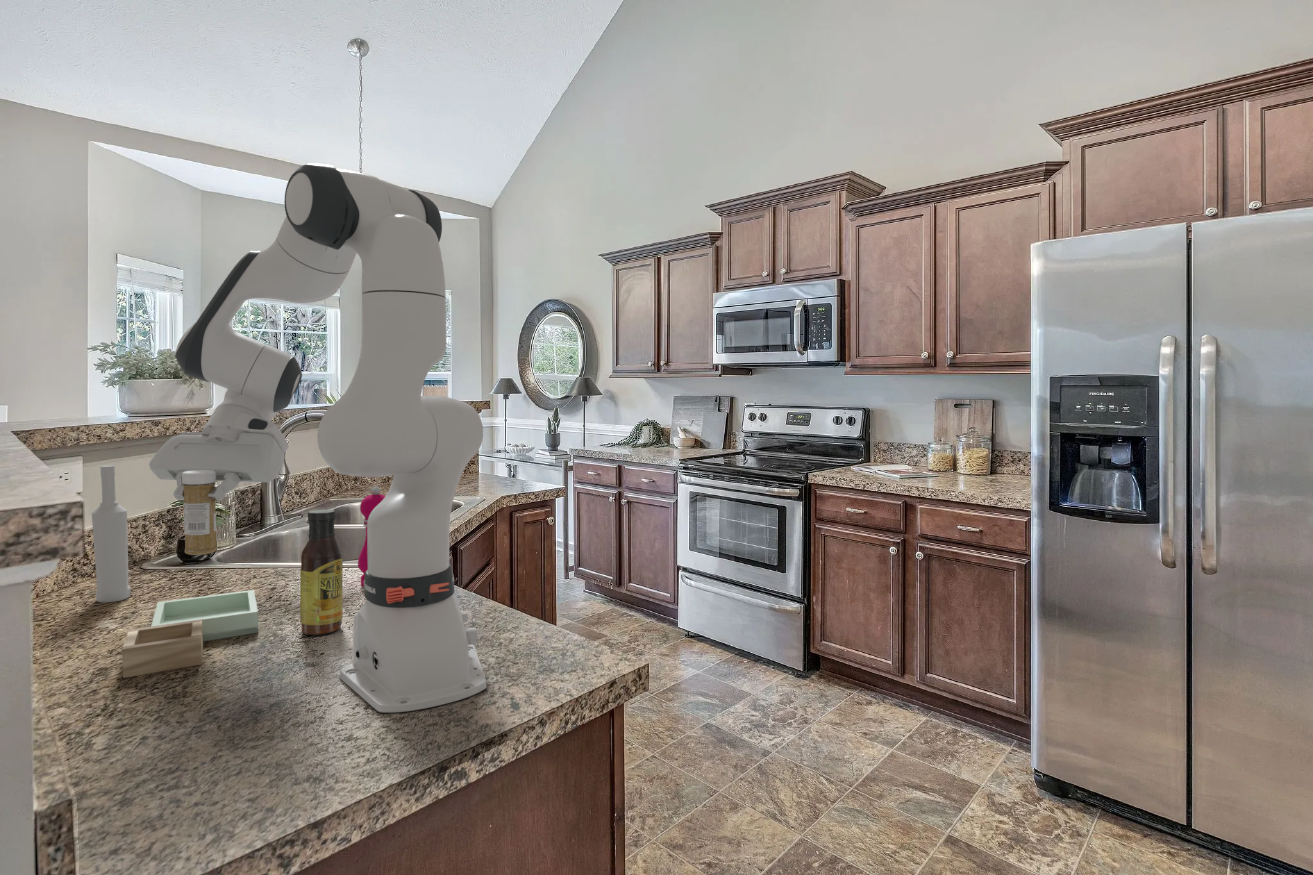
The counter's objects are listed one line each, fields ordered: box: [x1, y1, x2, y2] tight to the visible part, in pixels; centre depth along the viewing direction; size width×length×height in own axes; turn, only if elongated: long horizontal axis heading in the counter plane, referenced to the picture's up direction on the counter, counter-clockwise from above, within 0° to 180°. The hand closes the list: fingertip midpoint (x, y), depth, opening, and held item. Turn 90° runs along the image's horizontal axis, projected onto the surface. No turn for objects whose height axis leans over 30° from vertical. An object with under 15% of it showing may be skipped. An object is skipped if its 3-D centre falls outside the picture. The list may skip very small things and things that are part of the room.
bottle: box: [91, 465, 131, 603], centre depth 127 cm, size 5×5×25 cm
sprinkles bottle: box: [182, 470, 218, 556], centre depth 111 cm, size 5×5×13 cm
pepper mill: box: [357, 486, 386, 588], centre depth 139 cm, size 7×7×20 cm
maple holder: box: [121, 619, 204, 679], centre depth 100 cm, size 9×9×4 cm
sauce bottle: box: [299, 509, 344, 636], centre depth 112 cm, size 6×6×20 cm
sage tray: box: [150, 589, 259, 642], centre depth 113 cm, size 14×14×4 cm
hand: (197, 498), depth 111 cm, fingers closed on sprinkles bottle, 4 cm apart
